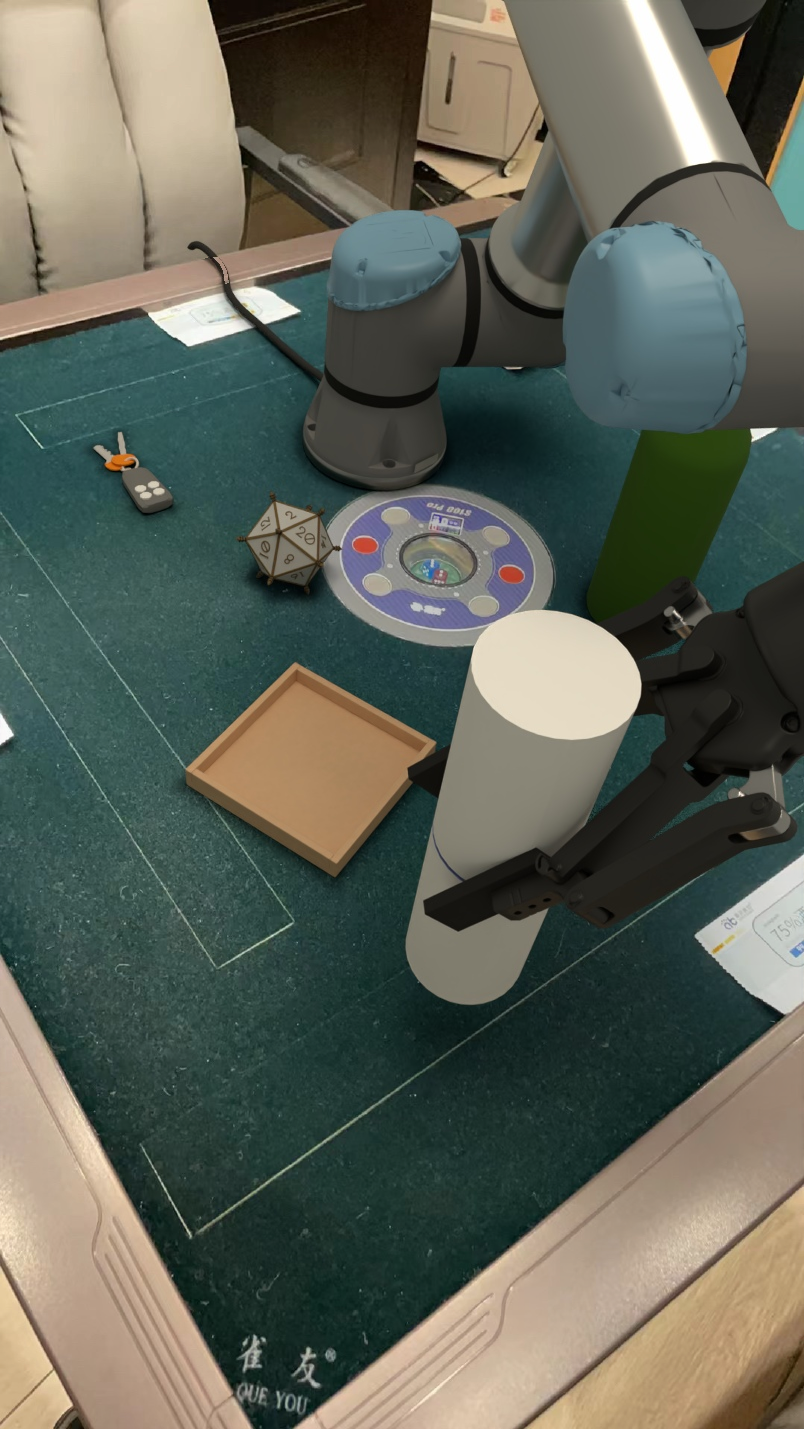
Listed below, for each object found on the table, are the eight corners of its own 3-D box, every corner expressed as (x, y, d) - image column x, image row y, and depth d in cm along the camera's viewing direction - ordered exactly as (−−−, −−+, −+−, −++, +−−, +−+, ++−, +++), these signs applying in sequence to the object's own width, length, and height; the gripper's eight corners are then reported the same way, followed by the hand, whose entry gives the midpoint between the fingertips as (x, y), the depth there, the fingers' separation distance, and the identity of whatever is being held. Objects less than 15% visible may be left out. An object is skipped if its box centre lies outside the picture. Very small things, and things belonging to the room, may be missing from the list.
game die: (305, 597, 102) (374, 531, 97) (273, 629, 95) (345, 559, 90) (240, 529, 101) (306, 459, 96) (202, 556, 93) (271, 481, 89)
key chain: (178, 506, 103) (177, 494, 102) (142, 517, 101) (141, 505, 100) (121, 434, 109) (120, 422, 108) (87, 443, 108) (85, 431, 106)
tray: (186, 784, 82) (185, 769, 81) (294, 677, 90) (295, 661, 89) (335, 877, 78) (336, 863, 77) (433, 757, 86) (436, 742, 85)
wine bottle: (694, 611, 101) (838, 295, 76) (643, 657, 97) (778, 336, 72) (619, 563, 105) (733, 245, 80) (566, 605, 100) (670, 281, 75)
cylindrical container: (400, 896, 64) (461, 608, 45) (514, 894, 65) (621, 611, 46) (410, 1006, 60) (483, 739, 41) (532, 1002, 61) (659, 739, 42)
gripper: (1003, 872, 39) (503, 1057, 50) (820, 518, 52) (451, 724, 62) (945, 793, 35) (404, 1016, 45) (759, 424, 47) (369, 664, 57)
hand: (432, 846), depth 53 cm, fingers closed on cylindrical container, 7 cm apart
